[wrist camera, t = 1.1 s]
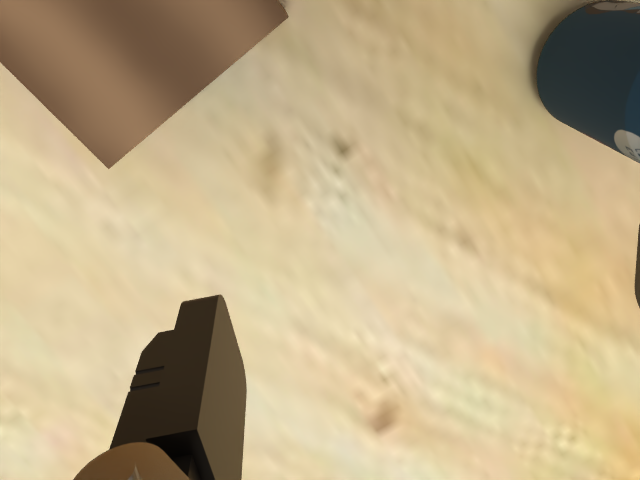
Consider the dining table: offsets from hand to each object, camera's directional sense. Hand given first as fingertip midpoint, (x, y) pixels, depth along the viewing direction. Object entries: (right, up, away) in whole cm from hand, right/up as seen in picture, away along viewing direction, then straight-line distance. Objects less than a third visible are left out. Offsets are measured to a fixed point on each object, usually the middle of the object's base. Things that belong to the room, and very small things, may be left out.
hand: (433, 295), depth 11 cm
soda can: (+13, +11, +23) cm, 29 cm away
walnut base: (-12, +14, +19) cm, 27 cm away
